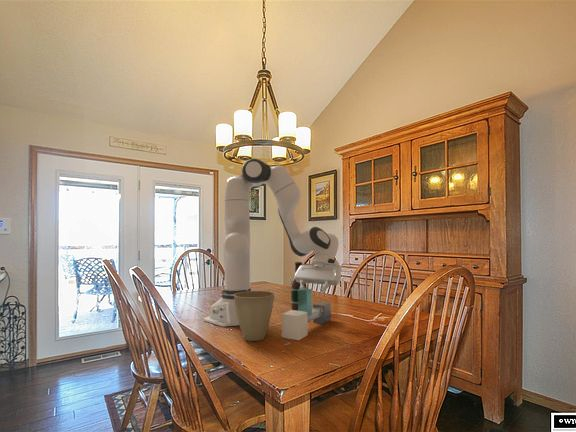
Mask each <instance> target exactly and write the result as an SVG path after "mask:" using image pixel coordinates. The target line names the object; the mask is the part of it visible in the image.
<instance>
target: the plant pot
mask: <svg viewBox="0 0 576 432" xmlns="http://www.w3.org/2000/svg"><path fill="white" fill-rule="evenodd" d="M234 300H235V307H236V313H237V317H238V321H239V325H238V326H239V328H240V332H241V335H242V336H243V339H244V340H246V341H248V342H258V341H261V340H264V339H265V336H266V333H267V330H268V327H269V324H270V321H271V316H272V312H273V306H274V300H275V292H273V291H266V290H251V291H246V292H239V293H235V294H234Z"/></svg>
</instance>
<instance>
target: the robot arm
mask: <svg viewBox="0 0 576 432" xmlns="http://www.w3.org/2000/svg"><path fill="white" fill-rule="evenodd" d="M264 185H266V186H267V187H269V189H270V190H271V192H272V195H274V197H275V200H276V203H277V207H278V209H277V211H278V212H277V214H278V215H279V218H280V219H279V220H281V223H282V225H283V228H284V230H285V233H286V235H287V237H288V240H289V246H290V248H291V249H290V250H291V251H292V253H294V254H295V255H297V256H298V257H305V256H307V255H308V254H310V253H312V252H314V255H313V258H312V261H311V262H310V263H302V265H300V266H299V268H298V270H297V271H296V273H295V272H294V275H293V276H294V278H295V280H296V281H297V282H300V288H299V289H302V288H305V287H304V285H303V284H305V283H306V284H314V285H323V286H320V289H319V291H320V293H326V290H327V289H328V288H330V286H338V285H339V284H340V282H341V280H342V279H341V278H342V266H341V265H340V262H339V261H338V260H337V259H335V258H336V256H337V253H338V250H339V245H340V244H339V239H338V237H337V236H336V235H335V234H333V233H329V232H325V231H324V230H323V229H322V228H320V227H317V226H312V227H311V228H309V229H307V230H305V231H304V232H300V230H299V227H298V224H297V223H296V222H297V221H296V220H295V218H294V213H295V210H296V208H297V206H298V204H299V203H300V200H301V192H300V189H299V187H298V185H297V183H296V182H295V180H294V178H293V177H292V175H291V174H290V173H289V172H288V170H287V168H285V167H284V166H283V165H275V166H272V167H271V166H270V165H269V164H267V163H266V162H264V161H263V160H261V159H258V158H250V159H247V160H246V161H245V162H244V163H243V164H242V168H241V174H240V175H238V176H237V175H236V176H231V177H229V178H228V179H227V180H226V184H225V188H224V201H223V202H224V227H225V238H224V240H223V262H224V266H223V267H224V289H222V290H221V291H219V294H221V297H220V298H219V299H218V300H217V301H216V302H214V303H213V304H212V305H211V306H210V310H209V315H208V316H205V318H203V322H207V323H210V324H213V325H217V326H220V327H222V328H223V327H224V328H225V327H232V326H233V327H234V326H235V327H236V326H240V325H239V321H238V317H237V313H236V307H235V300H234V294H235V293H239V292H246V291H252V288H251V259H250V258H251V254H250V253H251V252H250V250H251V249H250V248H251V247H250V246H251V226H250V225H251V223H250V221H251V220H250V219H251V218H250V216H251V215H250V191H251V190H254V189H257V188H260V187H262V186H264ZM294 278H293V279H294Z"/></svg>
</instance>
